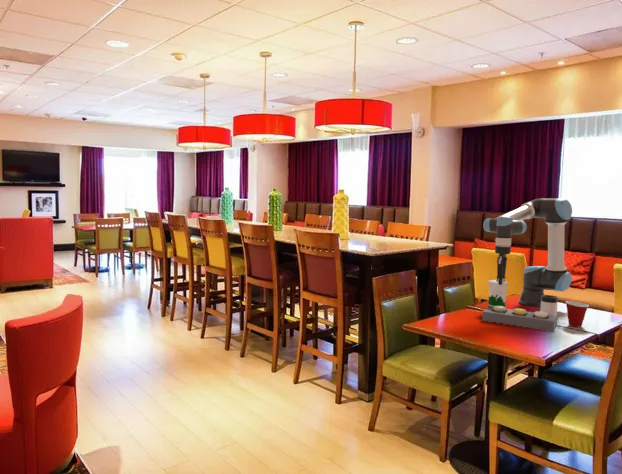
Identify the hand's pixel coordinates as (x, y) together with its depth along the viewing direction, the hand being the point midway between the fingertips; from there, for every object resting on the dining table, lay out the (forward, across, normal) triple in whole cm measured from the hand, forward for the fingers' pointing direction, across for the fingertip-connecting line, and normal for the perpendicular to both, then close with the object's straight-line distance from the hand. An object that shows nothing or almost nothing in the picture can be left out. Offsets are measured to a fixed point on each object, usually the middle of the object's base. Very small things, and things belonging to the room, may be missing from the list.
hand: (500, 290), depth 261 cm
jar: (+16, -20, +21) cm, 33 cm away
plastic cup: (+16, -13, +35) cm, 41 cm away
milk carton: (+16, -17, -5) cm, 24 cm away
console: (+16, -1, +10) cm, 19 cm away
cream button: (+11, -1, +20) cm, 23 cm away
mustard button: (+11, -1, +10) cm, 15 cm away
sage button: (+11, -1, 0) cm, 11 cm away
